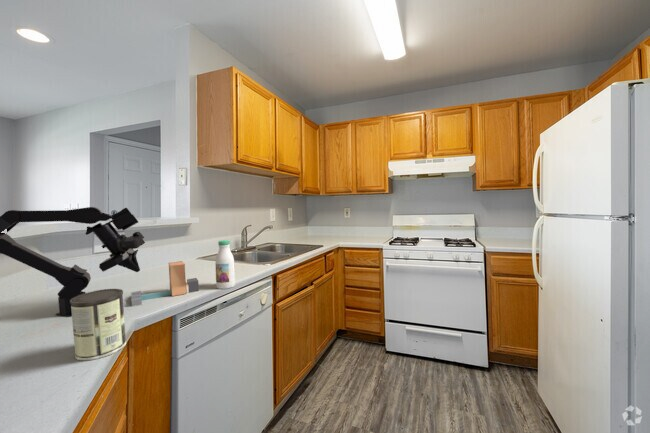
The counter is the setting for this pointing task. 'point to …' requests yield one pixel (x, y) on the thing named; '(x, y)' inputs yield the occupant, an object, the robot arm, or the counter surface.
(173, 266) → the sleeve
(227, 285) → the milk bottle
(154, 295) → the cable comb run
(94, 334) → the coffee can
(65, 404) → the counter surface
